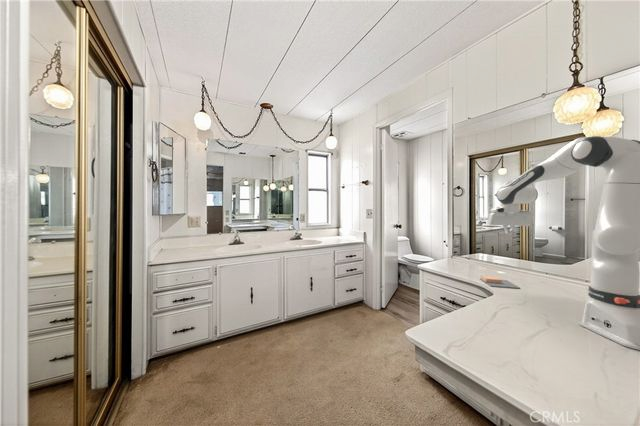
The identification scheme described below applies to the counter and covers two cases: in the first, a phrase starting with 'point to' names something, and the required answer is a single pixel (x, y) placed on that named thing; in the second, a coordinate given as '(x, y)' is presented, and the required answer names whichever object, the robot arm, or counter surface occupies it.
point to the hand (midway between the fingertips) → (508, 233)
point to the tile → (491, 279)
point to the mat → (502, 284)
